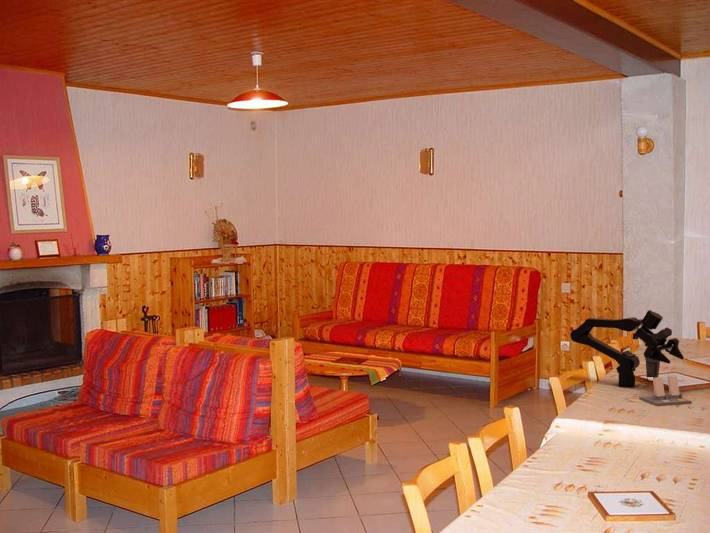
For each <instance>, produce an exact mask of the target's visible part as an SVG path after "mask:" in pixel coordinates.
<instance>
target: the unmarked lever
mask: <svg viewBox="0 0 710 533" xmlns="http://www.w3.org/2000/svg"><path fill="white" fill-rule="evenodd" d="M652 383H653V384H652V385H653V391H654V395H656V398H665V394H666V393H665V388H664V379H663V377H662V376H660V377H659V376H658V378H653V382H652Z"/></svg>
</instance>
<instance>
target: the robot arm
mask: <svg viewBox="0 0 710 533" xmlns="http://www.w3.org/2000/svg"><path fill="white" fill-rule="evenodd" d="M663 319H664V317H663V315H661V314H659V313H657V312H655V311H652V310H651V309H649V310H647V311H646V314H645V316H643V318H642V319H641V318H640V319H638V318H637V317H635V316H633V317H632V316H631V317H625V318H617V319H616V318H596V317H590V318H587V319H586V320H585V321H584V322H582V324H581V325H579V326H577V328H576V329H572V330H571V331H570V333H569V336H570V340H571V341H573V342H574V343H577V344H579V345H584V346H589V347H590V348H592V349H594V350H595V351H598V352H599V353H602V354H604V356H606V357H609V358H611V359H613V361H615V362H616V363H617V364H618V366H617V367H616V368H615V370H616V373H617V374H618V382H617V385H618V387H620V388H622V387H623V388H634V387H635V386H636V375H635V371H636V370H637V368H638V367H639V365H640V359H639V357H638V356H637V354H636V353H633V352H632V351H630V350H625V351H620V350H618V349H616V348H615V347H612V346H611V345H610V344H607V343H605V342H603V341H601V340H600V339H597V338H596V337H594V336H593V335H592V334H591V331H592V330H593V328H603V329H605V328H606V329H607V328H609V329H618V330H620V331H624V332H627V333H630V332H632V340H638V339H640V340H641V341H642V342H643V343H644V346H645V347H646V348H645V350H644V351H643V356H644V358H645V357H646V358H647V359H649V358H650V359H653V360H657V361H660V363H661V362H662V363H664V364H671V360H670V359H669V358H668V357H667V356H666V355H665V354H664V353H663V352H662V351H665V352H667V353H668V354H669V355H671V356H673V357H675V358H677V359H679V360H684V359H685V357H684V355H683V354H682V352H681V350H680V349H679V345H680V340H679V339H678V338H676V337H675V338H670V339H667V338H668V337H670V336H672V335H673V334H672V333H673V329H671V328H669V327H665V328H662V329H661V330H659V331H658V332H655V333H654V332H653V331H652V330H656V329H657V327H658V326H659V325H660V323H661V322H662V321H663ZM633 331H635V332H633Z"/></svg>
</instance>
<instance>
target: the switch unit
mask: <svg viewBox="0 0 710 533" xmlns="http://www.w3.org/2000/svg"><path fill="white" fill-rule="evenodd" d="M664 394H665V398H656V395H655V393H654V394H652V395H646V396H639V398H638V399H639V400H640V401H642V402H645V403H648V404H650V405H653V406H656V407H662V406H663V407H664V406H676V405H677V406H678V405H690V404H692V405H693V401H692V400H689V399H687V398H683V393H682V392H679V394H680V397H671V394H670V393H664Z"/></svg>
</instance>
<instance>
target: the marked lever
mask: <svg viewBox="0 0 710 533" xmlns="http://www.w3.org/2000/svg"><path fill="white" fill-rule="evenodd" d="M667 384H668V391H669V394H671V397H680V394H679V393H680V386H679V380H678V376H677V375H676V376H667Z"/></svg>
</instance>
